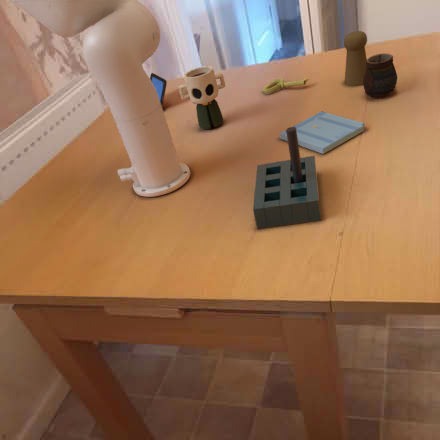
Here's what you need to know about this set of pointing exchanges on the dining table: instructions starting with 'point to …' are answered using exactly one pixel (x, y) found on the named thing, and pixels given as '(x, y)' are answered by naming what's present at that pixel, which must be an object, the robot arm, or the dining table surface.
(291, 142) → the stylus
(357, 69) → the cork
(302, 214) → the pen stand
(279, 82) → the key
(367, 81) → the mate gourd
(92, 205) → the dining table surface
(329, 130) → the light blue flat board
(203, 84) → the character mug
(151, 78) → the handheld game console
